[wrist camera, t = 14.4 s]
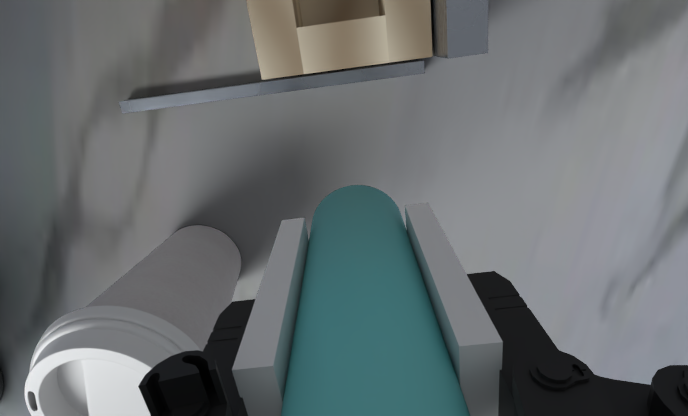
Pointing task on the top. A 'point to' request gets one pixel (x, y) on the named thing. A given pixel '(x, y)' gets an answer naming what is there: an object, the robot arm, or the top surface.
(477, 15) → the backstop
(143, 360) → the coffee cup
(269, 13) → the block
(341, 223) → the dowel
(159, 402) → the robot arm
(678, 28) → the top surface
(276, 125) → the top surface
